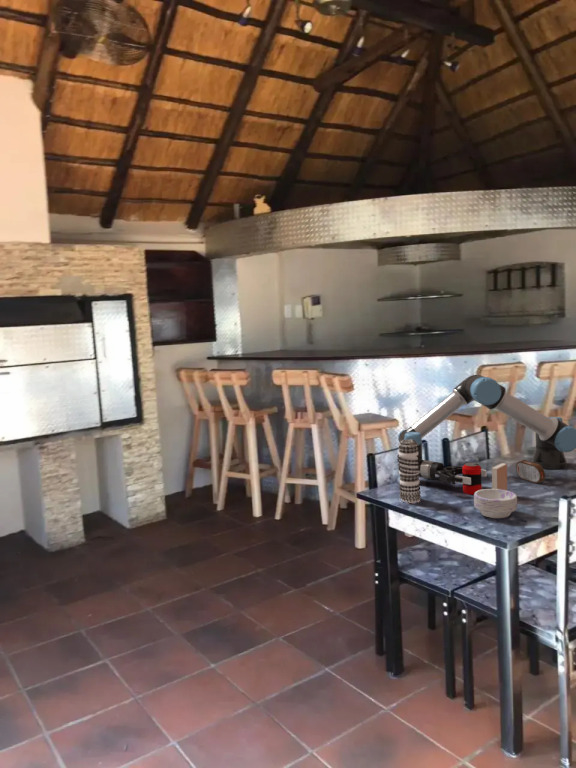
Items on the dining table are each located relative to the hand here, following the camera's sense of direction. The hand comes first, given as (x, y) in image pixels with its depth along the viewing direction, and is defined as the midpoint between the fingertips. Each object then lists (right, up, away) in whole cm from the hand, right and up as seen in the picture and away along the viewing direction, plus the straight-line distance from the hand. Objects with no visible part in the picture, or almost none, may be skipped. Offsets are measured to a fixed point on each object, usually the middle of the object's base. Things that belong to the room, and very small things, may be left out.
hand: (478, 477), depth 252 cm
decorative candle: (-29, -9, -2) cm, 30 cm away
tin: (+27, -4, +14) cm, 31 cm away
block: (+7, -7, -5) cm, 11 cm away
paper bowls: (-1, -10, -25) cm, 27 cm away
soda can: (-2, -7, +3) cm, 8 cm away
